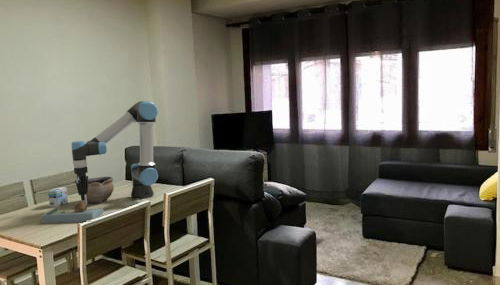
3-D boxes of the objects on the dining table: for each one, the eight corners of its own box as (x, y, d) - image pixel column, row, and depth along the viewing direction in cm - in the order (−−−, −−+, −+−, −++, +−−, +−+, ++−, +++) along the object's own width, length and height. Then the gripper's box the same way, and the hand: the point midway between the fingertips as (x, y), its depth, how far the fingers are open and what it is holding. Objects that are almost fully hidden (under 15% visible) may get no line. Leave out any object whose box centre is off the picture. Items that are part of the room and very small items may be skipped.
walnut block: (86, 209, 248) (86, 201, 248) (83, 212, 243) (82, 203, 243) (78, 210, 248) (77, 201, 248) (74, 212, 243) (73, 204, 243)
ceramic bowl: (81, 207, 265) (79, 184, 263) (78, 200, 284) (76, 179, 282) (117, 201, 275) (115, 179, 273) (112, 195, 294) (110, 174, 292)
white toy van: (58, 207, 270) (56, 190, 269) (49, 207, 272) (47, 191, 270) (68, 202, 281) (67, 187, 279) (59, 202, 282) (58, 187, 281)
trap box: (104, 212, 250) (103, 205, 249) (92, 221, 234) (91, 213, 234) (56, 214, 252) (56, 207, 251) (42, 223, 236) (41, 215, 235)
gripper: (79, 165, 258) (83, 202, 260) (69, 169, 245) (73, 208, 248) (91, 164, 257) (95, 201, 260) (81, 168, 244) (85, 207, 247)
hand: (84, 204), depth 254 cm, fingers closed
